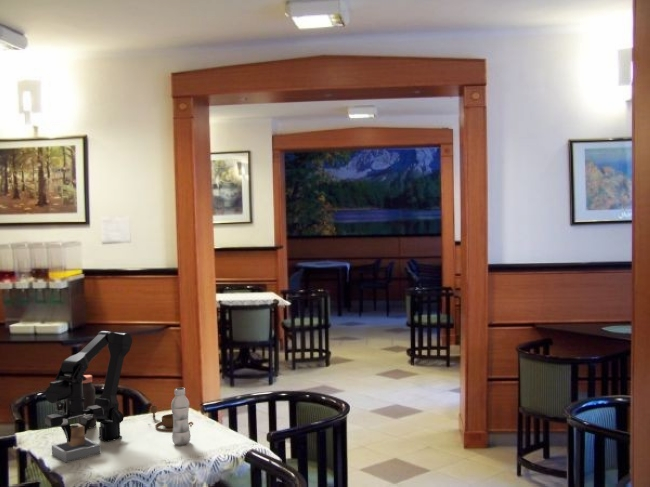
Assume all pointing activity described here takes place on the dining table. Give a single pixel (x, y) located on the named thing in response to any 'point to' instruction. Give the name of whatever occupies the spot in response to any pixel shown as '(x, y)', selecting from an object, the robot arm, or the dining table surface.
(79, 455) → the charcoal tray
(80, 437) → the walnut block
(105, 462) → the dining table surface
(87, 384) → the vinegar
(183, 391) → the plastic bottle
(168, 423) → the place setting
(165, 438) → the dining table surface
